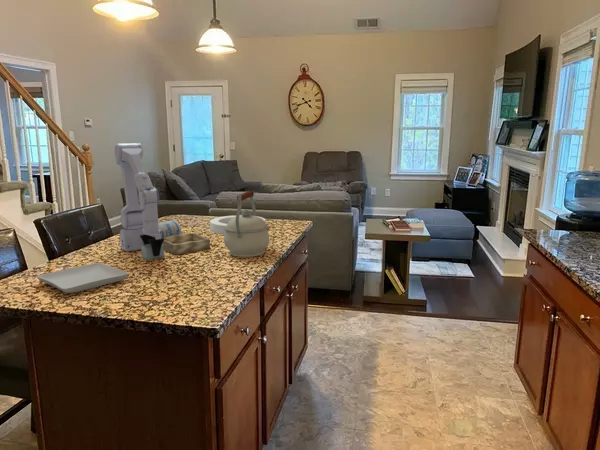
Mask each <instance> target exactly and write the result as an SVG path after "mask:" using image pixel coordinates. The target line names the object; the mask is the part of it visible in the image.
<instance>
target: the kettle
mask: <svg viewBox="0 0 600 450" xmlns="http://www.w3.org/2000/svg"><path fill="white" fill-rule="evenodd" d="M254 195H255V193H254V191H253V190H248V191H245V192H243V193H240V194H238V195H237V196H236V200H237V209H236V217H235V218H233V219H231V220H230V221H229V222H228V224H227V226H225V230H226V232H225V234H224V235H223V236H224V237H223V243H224V246H225V247H226V248H227V250H229V254H230V255H231V256H234V257H239V258H252V257H259V256H261V255H263V254H264V253H265V249H266V248H267V247H268V246H269V243H270V234H269V230H268V229H269V225H268V224H267V223H266V220H265V221H264V220H263V219H261V218H259V217H260V216H258V217H256V216H257V212H256V210H257V209H256V205H255V202H254ZM247 199H249V202H250V205H251V208H252V209H251V211H252V213H251V211H250V210H248V209H245V210H243V211H242V212H241V209H242V203H243V201H245V200H247ZM240 215H242V216H240Z"/></svg>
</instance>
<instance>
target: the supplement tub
mask: <svg viewBox="0 0 600 450" xmlns="http://www.w3.org/2000/svg"><path fill="white" fill-rule="evenodd" d="M158 225H159V230H162V232H160V234H161V238H163V237H170V236H176V235H183V233H182V227H181V225H180V223H179V222H178V221H177V220H175V219H173V220H166V221H160V222H159V221H158Z"/></svg>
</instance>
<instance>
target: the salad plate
mask: <svg viewBox="0 0 600 450" xmlns="http://www.w3.org/2000/svg"><path fill="white" fill-rule="evenodd" d="M128 276H129V272H127V271H125V270H122V269H119V268H116V267H114V266H111V265H108V264H106V263H105V264H104V263H102V262H95V263H90V264H84V265H80V266H75V267H70V268H66V269H62V270H56V271H53V272H48V273H44V274H39V275H37V280H39V281H41V282H42V283H45V284H47V285H49V286H52V287H54V288H56V289H58V290H60V291H62V292H64V293H65V294H75V293H74V292H77V293H80V292H79V291H81V292H84V291H83V290H85V291H88V290H87V289H89V290H92V289H91V288H93V289H96V288H95V287H97V288H100V287H103V286H102V285H104V286H107V285H106V284H108V285H111V284H115V283H117V282H120V281H122V280H124V279H125V278H127V277H128ZM110 283H111V284H110ZM99 286H100V287H99Z"/></svg>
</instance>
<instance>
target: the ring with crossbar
mask: <svg viewBox="0 0 600 450" xmlns="http://www.w3.org/2000/svg"><path fill="white" fill-rule="evenodd" d="M240 216H242V214H240ZM235 217H236V215H226V216H225V215H224V216H219V217H213V218H212V219H210V221H209V227H210V232H211V233H213V234H219V235H225V232H226V230H225V226H227V224H228V222H229V221H230V220H231V219H233V218H235ZM256 217H259V218H261V219H263V220H264V221H265V222H266V218H264V217H263V216H258V215H256Z"/></svg>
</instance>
